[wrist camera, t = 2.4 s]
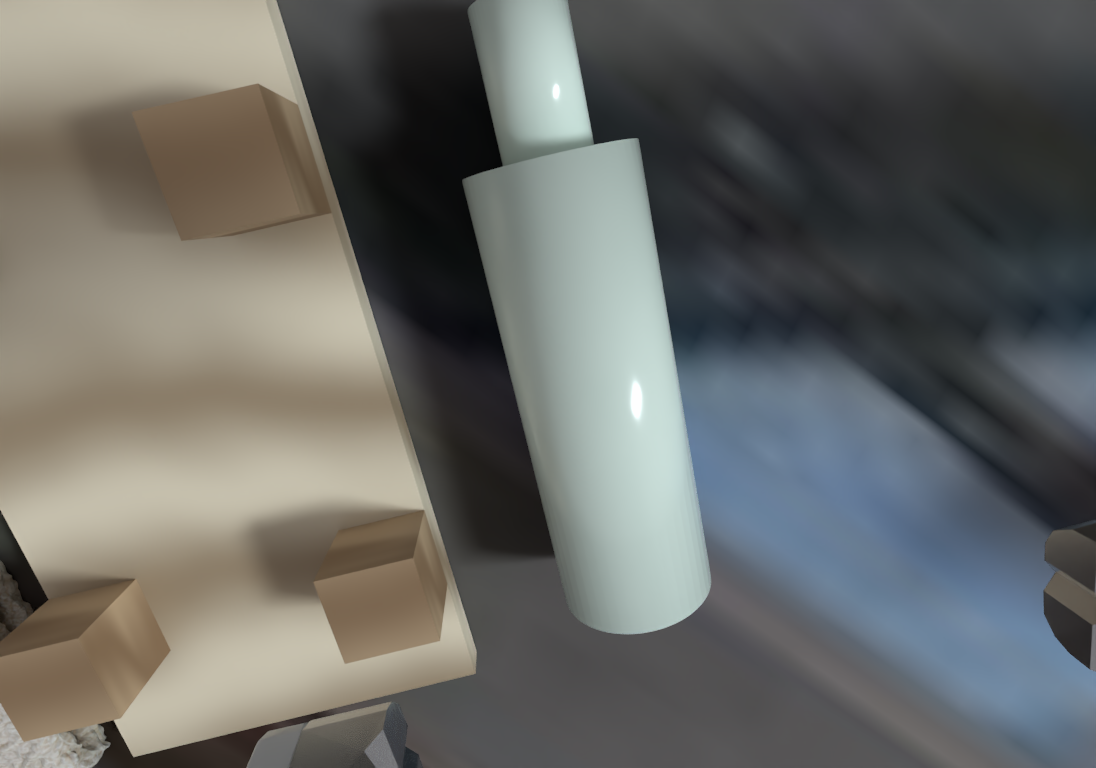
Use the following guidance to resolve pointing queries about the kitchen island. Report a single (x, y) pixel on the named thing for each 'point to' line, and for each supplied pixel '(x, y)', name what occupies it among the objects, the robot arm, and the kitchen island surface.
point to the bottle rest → (195, 391)
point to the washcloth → (53, 761)
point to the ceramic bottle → (585, 330)
